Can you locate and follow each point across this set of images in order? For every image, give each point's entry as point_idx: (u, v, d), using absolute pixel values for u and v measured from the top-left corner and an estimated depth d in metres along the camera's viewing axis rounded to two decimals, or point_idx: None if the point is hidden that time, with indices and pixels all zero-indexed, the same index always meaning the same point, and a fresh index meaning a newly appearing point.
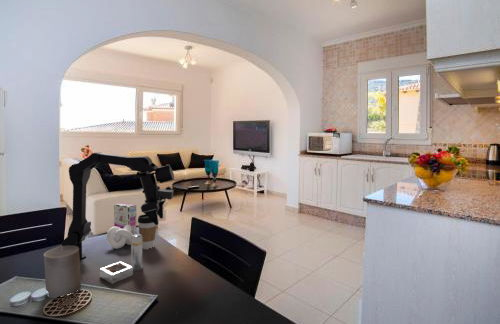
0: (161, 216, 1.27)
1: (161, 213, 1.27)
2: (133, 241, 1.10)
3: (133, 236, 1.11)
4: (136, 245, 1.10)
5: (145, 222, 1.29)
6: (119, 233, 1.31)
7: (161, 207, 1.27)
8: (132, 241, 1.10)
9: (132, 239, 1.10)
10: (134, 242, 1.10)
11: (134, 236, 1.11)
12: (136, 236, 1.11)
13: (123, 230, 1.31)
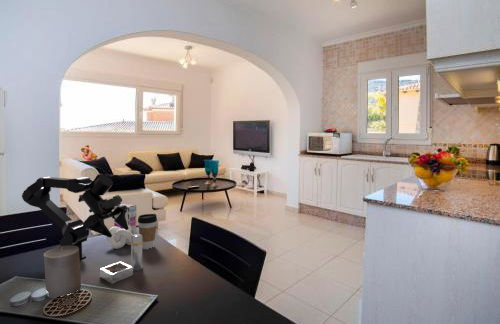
0: (126, 227, 1.18)
1: (124, 224, 1.18)
2: (133, 241, 1.10)
3: (133, 236, 1.11)
4: (136, 245, 1.10)
5: (145, 222, 1.29)
6: (119, 233, 1.31)
7: (122, 218, 1.19)
8: (132, 241, 1.10)
9: (132, 239, 1.10)
10: (134, 242, 1.10)
11: (134, 236, 1.11)
12: (136, 236, 1.11)
13: (123, 230, 1.31)
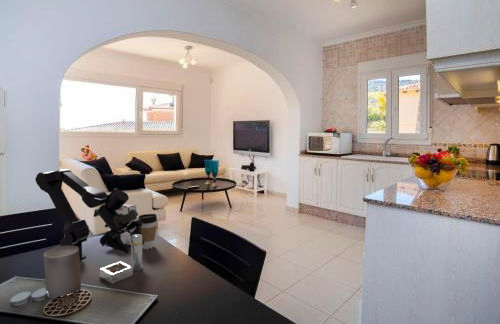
0: (142, 242, 1.16)
1: None
2: (133, 241, 1.10)
3: (133, 236, 1.11)
4: (136, 245, 1.10)
5: (145, 222, 1.29)
6: None
7: (138, 233, 1.17)
8: (132, 241, 1.10)
9: (132, 239, 1.10)
10: (134, 242, 1.10)
11: (134, 236, 1.11)
12: (136, 236, 1.11)
13: None
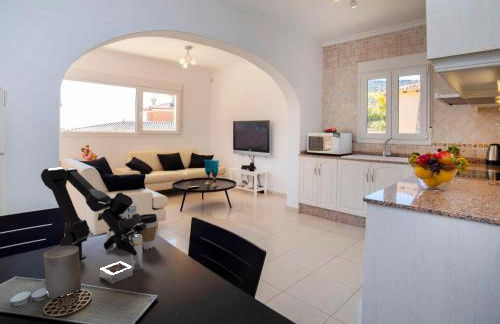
0: None
1: None
2: (133, 241, 1.10)
3: (133, 236, 1.11)
4: (136, 245, 1.10)
5: (145, 222, 1.29)
6: None
7: None
8: (132, 241, 1.10)
9: (132, 239, 1.10)
10: (134, 242, 1.10)
11: (134, 236, 1.11)
12: (136, 236, 1.11)
13: None
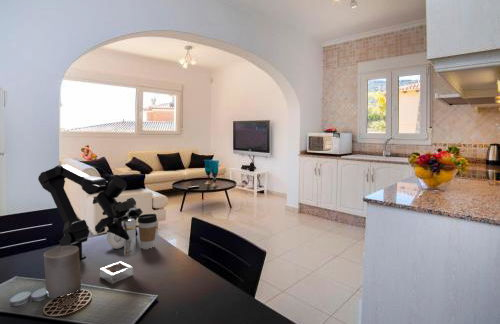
0: None
1: None
2: (126, 225, 1.07)
3: (126, 220, 1.08)
4: (129, 229, 1.07)
5: (145, 222, 1.29)
6: None
7: None
8: (125, 225, 1.07)
9: (125, 223, 1.07)
10: (127, 226, 1.07)
11: (127, 220, 1.08)
12: (129, 220, 1.08)
13: None
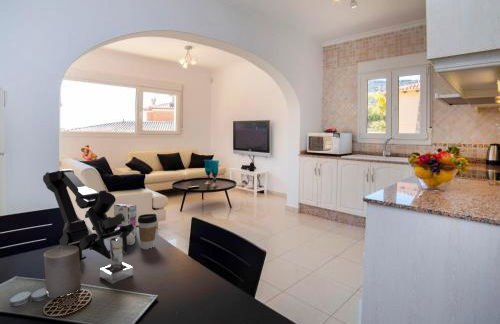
0: (125, 250, 1.08)
1: (124, 246, 1.08)
2: (111, 245, 1.04)
3: (112, 239, 1.05)
4: (114, 249, 1.03)
5: (145, 222, 1.29)
6: None
7: (122, 240, 1.09)
8: (110, 244, 1.04)
9: (110, 242, 1.04)
10: (112, 246, 1.03)
11: (113, 239, 1.05)
12: (115, 240, 1.04)
13: None
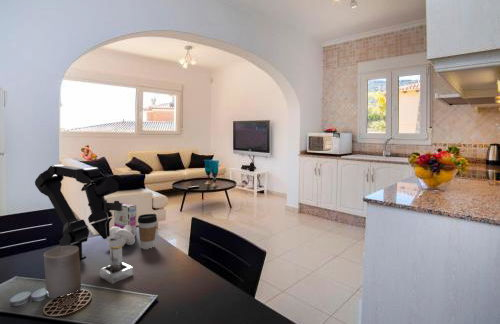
0: (108, 234, 1.17)
1: (108, 231, 1.17)
2: (111, 245, 1.04)
3: (112, 239, 1.05)
4: (114, 249, 1.03)
5: (145, 222, 1.29)
6: (119, 233, 1.31)
7: (107, 224, 1.18)
8: (110, 244, 1.04)
9: (110, 242, 1.04)
10: (111, 246, 1.03)
11: (113, 239, 1.05)
12: (115, 239, 1.05)
13: (123, 230, 1.31)
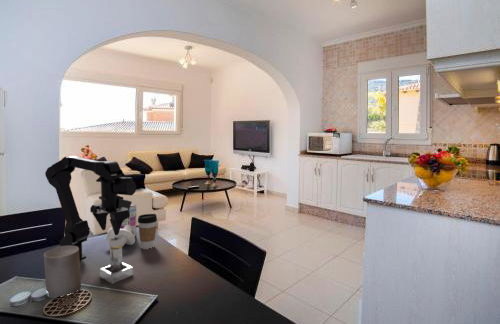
0: (104, 227, 1.17)
1: (105, 224, 1.18)
2: (111, 245, 1.04)
3: (112, 239, 1.05)
4: (114, 249, 1.03)
5: (145, 222, 1.29)
6: (119, 233, 1.31)
7: (105, 218, 1.18)
8: (110, 244, 1.04)
9: (110, 242, 1.04)
10: (111, 246, 1.03)
11: (113, 239, 1.05)
12: (115, 239, 1.05)
13: (123, 230, 1.31)
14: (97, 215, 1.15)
